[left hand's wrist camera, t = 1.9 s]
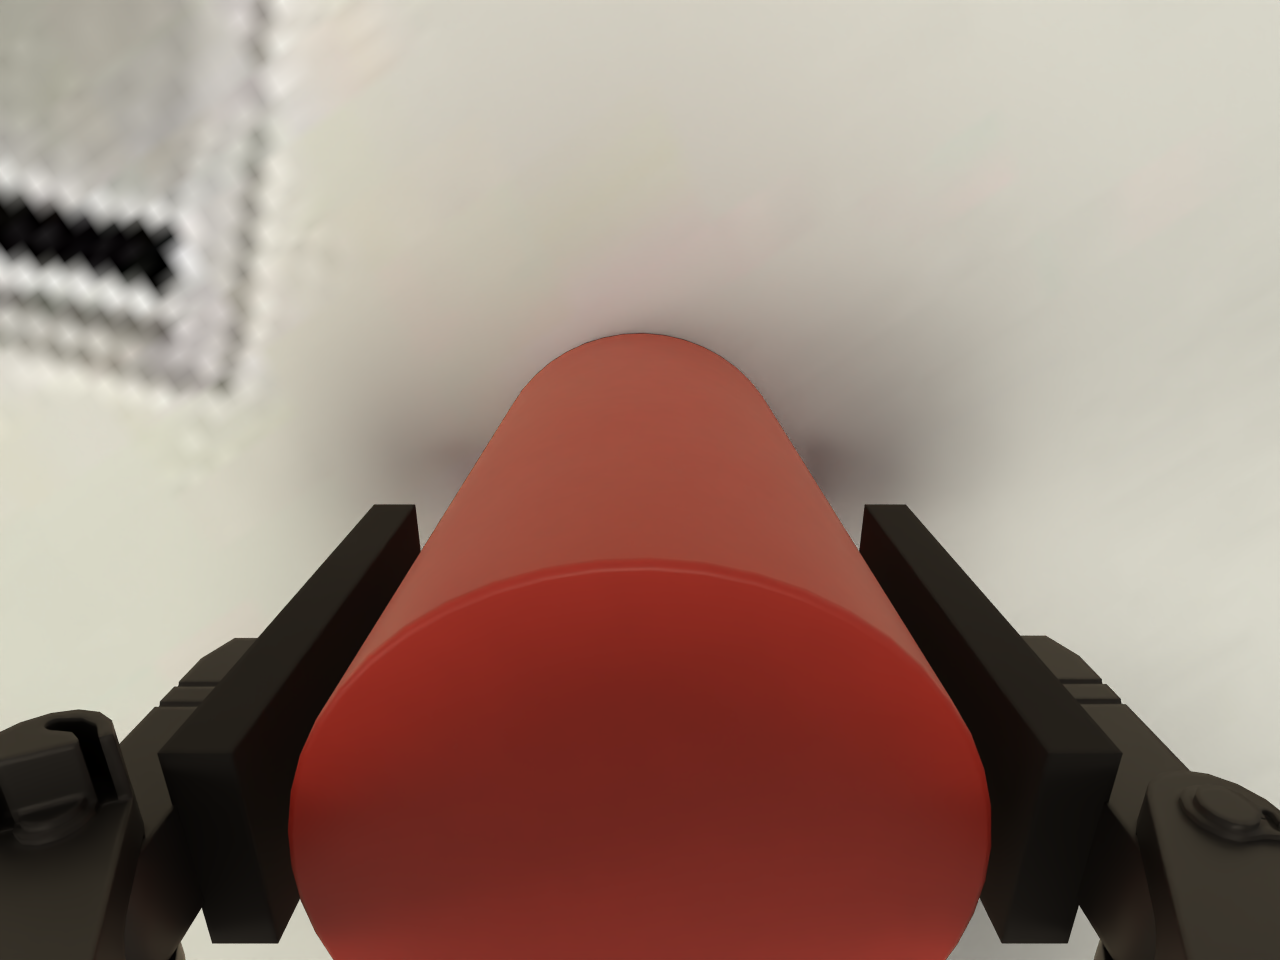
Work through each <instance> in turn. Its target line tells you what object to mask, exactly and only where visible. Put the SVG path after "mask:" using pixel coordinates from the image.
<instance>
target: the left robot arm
mask: <svg viewBox="0 0 1280 960" xmlns="http://www.w3.org/2000/svg"><path fill="white" fill-rule="evenodd" d="M420 552H421V550H420V541H419V533H418V524H417V516H416V507H415V505H373V507H372V508H371V509H370V510H369V511H368V512H367V513H366V515H365V516H364V517H363V518H362V519H361V520H360V522H359V523H358V524H357V525H356V526H355V527H354V528H353V530H352V531H351V532H350V533H349V534H348V535H347V536H346V538H345V539H344V540H343V541H342V542H341V543H340V544H339V546H338V547H337V548H336V549H335V550H334V551H333V552H332V554H331V555H330V556H329V557H328V558H327V559H326V560H325V562H324V563H323V564H322V565H321V566H320V567H319V568H318V570H317V571H316V572H315V573H314V574H313V575H312V576H311V578H310V579H309V580H308V581H307V582H306V583H305V584H304V586H303V587H302V588H301V589H300V590H299V591H298V593H297V594H296V595H295V596H294V597H293V598H292V599H291V601H290V602H289V603H288V604H287V605H286V606H285V607H284V609H283V610H282V611H281V612H280V613H279V614H278V615H277V617H276V618H275V619H274V620H273V621H272V622H271V623H270V625H269V626H268V627H267V628H266V629H265V630H264V631H263V633H262V634H261V635H260V636H259V637H258V638H234V639H232V640H231V641H229V642H227V643H226V644H224V645H223V646H221V647H219V648H218V649H216V650H214V651H213V652H211V653H209V654H208V655H206V656H204V657H203V658H201V659H200V660H199V661H198V662H197V663H196V665H195V666H194V667H193V668H192V669H191V670H190V671H189V672H188V673H187V674H186V675H185V676H184V677H183V678H182V679H181V680H180V681H179V685H178V687H173V689H172V690H171V691H170V692H169V693H168V694H167V695H166V696H165V697H164V698H163V699H162V700H161V701H160V706H159V707H154V708H153V709H152V710H151V712H150V713H149V714H148V715H147V716H146V717H145V718H144V719H143V720H142V721H141V722H140V723H139V724H138V725H137V726H136V727H135V728H134V729H133V730H132V731H131V732H130V733H129V734H128V736H127V737H126V738H125V739H124V740H123V741H122V742H121V743H120V744H119V742H118V739H117V735H116V732H115V729H114V726H113V723H112V720H111V719H109V718H108V717H106V716H105V715H103V714H102V713H100V712H96V711H87V710H71V711H63V712H56V713H50V714H46V715H43V716H40V717H37V718H33V719H30V720H27V721H24V722H20V723H18V724H16V725H14V726H12V727H10V728H7V729H5V730H3V731H1V732H0V960H185V954H184V951H183V947H182V944H181V940H182V938H183V937H184V935H185V934H186V932H187V930H188V929H189V927H190V926H191V924H192V922H193V921H194V919H195V918H196V916H197V914H198V913H199V911H200V909H201V908H202V910H203V913H204V917H205V920H206V923H207V927H208V930H209V934H210V937H211V941H212V943H279V941H280V938H281V936H282V934H283V932H284V930H285V928H286V926H287V924H288V922H289V920H290V918H291V916H292V914H293V912H294V910H295V908H296V906H297V904H298V902H299V899H300V896H299V892H298V888H297V885H296V881H295V878H294V874H293V870H292V867H291V857H290V847H289V837H288V822H289V808H290V795H291V788H292V784H293V780H294V776H295V772H296V768H297V765H298V761H299V757H300V754H301V752H302V749H303V747H304V745H305V743H306V740H307V738H308V736H309V734H310V732H311V729H312V727H313V725H314V723H315V721H316V719H317V717H318V715H319V714H320V712H321V711H322V709H323V707H324V706H325V704H326V703H327V701H328V699H329V698H330V696H331V695H332V693H333V691H334V690H335V688H336V687H337V685H338V683H339V682H340V680H341V679H342V677H343V675H344V674H345V672H346V671H347V669H348V667H349V666H350V664H351V663H352V661H353V659H354V658H355V656H356V655H357V653H358V651H359V650H360V648H361V647H362V645H363V643H364V642H365V640H366V639H367V637H368V635H369V634H370V632H371V631H372V629H373V627H374V626H375V624H376V623H377V621H378V619H379V618H380V616H381V615H382V613H383V611H384V610H385V608H386V607H387V605H388V603H389V602H390V600H391V599H392V597H393V595H394V594H395V592H396V591H397V589H398V587H399V586H400V584H401V583H402V581H403V579H404V578H405V576H406V574H407V573H408V571H409V570H410V568H411V566H412V565H413V563H414V562H415V560H416V558H417V557H418V555H419V554H420ZM859 552H860V554H861V555H862V557H863V559H864V560H865V562H866V563H867V565H868V567H869V568H870V570H871V572H872V573H873V575H874V576H875V578H876V580H877V581H878V583H879V584H880V586H881V588H882V589H883V591H884V592H885V594H886V596H887V597H888V599H889V600H890V602H891V604H892V605H893V607H894V608H895V610H896V612H897V613H898V615H899V616H900V618H901V620H902V621H903V623H904V624H905V626H906V628H907V629H908V631H909V632H910V634H911V636H912V637H913V639H914V640H915V642H916V644H917V645H918V647H919V648H920V650H921V652H922V653H923V655H924V656H925V658H926V660H927V661H928V663H929V664H930V666H931V668H932V669H933V671H934V672H935V674H936V676H937V677H938V679H939V680H940V682H941V684H942V685H943V687H944V688H945V690H946V692H947V693H948V695H949V696H950V698H951V700H952V701H953V703H954V705H955V707H956V708H957V710H958V712H959V714H960V715H961V717H962V719H963V720H964V722H965V724H966V726H967V727H968V729H969V731H970V732H971V735H972V737H973V740H974V743H975V745H976V748H977V751H978V753H979V756H980V759H981V761H982V764H983V767H984V770H985V775H986V781H987V786H988V792H989V797H990V803H991V850H990V856H989V862H988V868H987V873H986V879H985V883H984V886H983V888H982V891H981V894H980V899H981V902H982V904H983V906H984V908H985V910H986V912H987V914H988V916H989V918H990V920H991V922H992V924H993V926H994V928H995V930H996V932H997V934H998V936H999V938H1000V941H1001V943H1068V941H1069V937H1070V934H1071V930H1072V927H1073V923H1074V920H1075V917H1076V913H1077V910H1078V906H1080V907H1081V909H1082V910H1083V912H1084V914H1085V915H1086V917H1087V918H1088V920H1089V922H1090V923H1091V925H1092V926H1093V928H1094V930H1095V931H1096V933H1097V934H1098V936H1099V938H1100V941H1099V944H1098V947H1097V951H1096V954H1095V957H1094V960H1280V810H1279V809H1277V808H1276V807H1275V806H1273V805H1272V804H1271V803H1270V802H1268V801H1267V800H1266V799H1264V798H1262V797H1260V796H1259V795H1257V794H1255V793H1253V792H1251V791H1249V790H1247V789H1246V788H1244V787H1242V786H1240V785H1238V784H1236V783H1233V782H1230V781H1227V780H1224V779H1221V778H1218V777H1215V776H1213V775H1210V774H1205V773H1198V772H1191V771H1190V770H1189V769H1188V768H1187V767H1186V766H1185V765H1184V764H1183V763H1182V762H1181V761H1180V760H1179V759H1178V758H1177V757H1176V756H1175V755H1174V754H1173V753H1172V752H1171V751H1170V750H1169V749H1168V747H1167V746H1166V745H1165V744H1164V743H1163V742H1162V741H1161V740H1160V739H1159V738H1158V737H1157V736H1156V735H1155V734H1154V733H1153V732H1152V731H1151V730H1150V729H1149V728H1148V727H1147V726H1146V725H1145V724H1144V723H1143V722H1142V721H1141V719H1140V718H1139V717H1138V716H1137V715H1136V714H1135V713H1134V712H1133V711H1132V710H1131V709H1130V708H1129V707H1128V706H1127V705H1126V704H1121V699H1120V698H1119V697H1118V696H1117V695H1116V694H1115V692H1114V691H1113V690H1112V689H1111V688H1110V687H1109V686H1108V685H1107V684H1102V679H1101V678H1100V677H1099V676H1098V675H1097V674H1096V673H1095V672H1094V671H1093V670H1092V669H1091V668H1090V667H1089V666H1088V664H1087V663H1086V662H1085V661H1084V660H1083V659H1082V658H1081V657H1080V656H1079V655H1077V654H1075V653H1074V652H1072V651H1070V650H1069V649H1067V648H1065V647H1064V646H1062V645H1060V644H1059V643H1057V642H1055V641H1054V640H1052V639H1050V638H1049V637H1047V636H1020V635H1019V634H1018V633H1017V631H1016V630H1015V629H1014V628H1013V627H1012V626H1011V625H1010V623H1009V622H1008V621H1007V620H1006V619H1005V618H1004V617H1003V615H1002V614H1001V613H1000V612H999V611H998V610H997V609H996V607H995V606H994V605H993V604H992V603H991V602H990V601H989V599H988V598H987V597H986V596H985V595H984V594H983V593H982V591H981V590H980V589H979V588H978V587H977V586H976V585H975V583H974V582H973V581H972V580H971V579H970V578H969V576H968V575H967V574H966V573H965V572H964V571H963V570H962V568H961V567H960V566H959V565H958V564H957V563H956V562H955V560H954V559H953V558H952V557H951V556H950V555H949V554H948V552H947V551H946V550H945V549H944V548H943V547H942V546H941V544H940V543H939V542H938V541H937V540H936V539H935V538H934V536H933V535H932V534H931V533H930V532H929V531H928V530H927V528H926V527H925V526H924V525H923V524H922V523H921V522H920V520H919V519H918V518H917V517H916V516H915V515H914V514H913V512H912V511H911V510H910V509H909V508H908V507H907V505H865V507H864V516H863V524H862V533H861V541H860V550H859Z"/></svg>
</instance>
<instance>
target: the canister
mask: <svg viewBox="0 0 1280 960" xmlns="http://www.w3.org/2000/svg"><path fill="white" fill-rule="evenodd" d="M288 837H289V847H290V857H291V867H292V870H293V874H294V878H295V881H296V885H297V888H298V892H299V896H300V899H301V902H302V904H303V906H304V908H305V911H306V913H307V915H308V917H309V919H310V922H311V924H312V926H313V928H314V930H315V932H316V934H317V935H318V937H319V938H320V940H321V941H322V943H323V945H324V946H325V948H326V949H327V951H328V952H329V954H330V955H331V957H332V958H333V960H946V959H947V957H948V956H949V955H950V953H951V952H952V951H953V949H954V948H955V947H956V945H957V944H958V942H959V940H960V938H961V936H962V934H963V933H964V931H965V929H966V927H967V925H968V923H969V921H970V919H971V918H972V916H973V914H974V911H975V909H976V906H977V903H978V900H979V897H980V894H981V891H982V888H983V886H984V883H985V879H986V873H987V868H988V862H989V856H990V850H991V803H990V797H989V792H988V786H987V781H986V775H985V770H984V767H983V764H982V761H981V759H980V756H979V753H978V751H977V748H976V745H975V743H974V740H973V737H972V735H971V732H970V731H969V729H968V727H967V726H966V724H965V722H964V720H963V719H962V717H961V715H960V714H959V712H958V710H957V708H956V707H955V705H954V703H953V701H952V700H951V698H950V696H949V695H948V693H947V692H946V690H945V688H944V687H943V685H942V684H941V682H940V680H939V679H938V677H937V676H936V674H935V672H934V671H933V669H932V668H931V666H930V664H929V663H928V661H927V660H926V658H925V656H924V655H923V653H922V652H921V650H920V648H919V647H918V645H917V644H916V642H915V640H914V639H913V637H912V636H911V634H910V632H909V631H908V629H907V628H906V626H905V624H904V623H903V621H902V620H901V618H900V616H899V615H898V613H897V612H896V610H895V608H894V607H893V605H892V604H891V602H890V600H889V599H888V597H887V596H886V594H885V592H884V591H883V589H882V588H881V586H880V584H879V583H878V581H877V580H876V578H875V576H874V575H873V573H872V572H871V570H870V568H869V567H868V565H867V563H866V562H865V560H864V559H863V557H862V555H861V554H860V552H859V551H858V549H857V547H856V546H855V544H854V543H853V541H852V539H851V538H850V536H849V535H848V533H847V531H846V530H845V528H844V527H843V525H842V523H841V522H840V520H839V519H838V517H837V515H836V514H835V512H834V511H833V509H832V507H831V506H830V504H829V503H828V501H827V499H826V498H825V496H824V495H823V493H822V491H821V490H820V488H819V487H818V485H817V483H816V482H815V480H814V479H813V477H812V475H811V474H810V472H809V471H808V469H807V467H806V466H805V464H804V463H803V461H802V459H801V458H800V456H799V455H798V453H797V451H796V450H795V448H794V447H793V445H792V443H791V442H790V440H789V439H788V437H787V435H786V434H785V432H784V430H783V429H782V427H781V426H780V424H779V422H778V421H777V419H776V418H775V416H774V414H773V413H772V411H771V410H770V408H769V406H768V405H767V403H766V402H765V400H764V398H763V397H762V395H761V394H760V393H759V392H758V390H757V389H756V388H755V387H754V385H753V384H752V383H751V382H750V380H749V379H747V378H746V377H745V376H744V375H743V374H742V373H741V372H740V371H739V370H738V369H737V368H736V367H735V366H733V365H732V364H730V363H729V362H728V361H726V360H725V359H723V358H722V357H721V356H719V355H717V354H715V353H713V352H711V351H710V350H708V349H706V348H704V347H702V346H699V345H696V344H694V343H691V342H688V341H686V340H682V339H678V338H674V337H669V336H665V335H655V334H623V335H617V336H611V337H605V338H601V339H598V340H595V341H592V342H589V343H585V344H583V345H581V346H579V347H577V348H574V349H572V350H570V351H568V352H566V353H564V354H563V355H561V356H560V357H558V358H557V359H555V360H554V361H552V362H550V363H549V364H548V365H547V366H546V367H544V368H543V369H542V370H541V371H540V372H539V373H537V374H536V375H535V376H534V377H533V378H532V380H531V381H530V382H529V383H528V384H527V385H526V386H525V387H524V389H523V390H522V391H521V393H520V394H519V396H518V397H517V399H516V400H515V402H514V403H513V405H512V406H511V408H510V409H509V411H508V413H507V414H506V416H505V417H504V419H503V421H502V422H501V424H500V425H499V427H498V429H497V430H496V432H495V434H494V435H493V437H492V438H491V440H490V442H489V443H488V445H487V446H486V448H485V450H484V451H483V453H482V454H481V456H480V458H479V459H478V461H477V462H476V464H475V466H474V467H473V469H472V470H471V472H470V474H469V475H468V477H467V478H466V480H465V482H464V483H463V485H462V486H461V488H460V490H459V491H458V493H457V494H456V496H455V498H454V499H453V501H452V502H451V504H450V506H449V507H448V509H447V510H446V512H445V514H444V515H443V517H442V518H441V520H440V522H439V523H438V525H437V526H436V528H435V530H434V531H433V533H432V534H431V536H430V538H429V539H428V541H427V542H426V544H425V546H424V547H423V549H422V550H421V552H420V554H419V555H418V557H417V558H416V560H415V562H414V563H413V565H412V566H411V568H410V570H409V571H408V573H407V574H406V576H405V578H404V579H403V581H402V583H401V584H400V586H399V587H398V589H397V591H396V592H395V594H394V595H393V597H392V599H391V600H390V602H389V603H388V605H387V607H386V608H385V610H384V611H383V613H382V615H381V616H380V618H379V619H378V621H377V623H376V624H375V626H374V627H373V629H372V631H371V632H370V634H369V635H368V637H367V639H366V640H365V642H364V643H363V645H362V647H361V648H360V650H359V651H358V653H357V655H356V656H355V658H354V659H353V661H352V663H351V664H350V666H349V667H348V669H347V671H346V672H345V674H344V675H343V677H342V679H341V680H340V682H339V683H338V685H337V687H336V688H335V690H334V691H333V693H332V695H331V696H330V698H329V699H328V701H327V703H326V704H325V706H324V707H323V709H322V711H321V712H320V714H319V715H318V717H317V719H316V721H315V723H314V725H313V727H312V729H311V732H310V734H309V736H308V738H307V740H306V743H305V745H304V747H303V749H302V752H301V754H300V757H299V761H298V765H297V768H296V772H295V776H294V780H293V784H292V788H291V795H290V808H289V822H288Z"/></svg>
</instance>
